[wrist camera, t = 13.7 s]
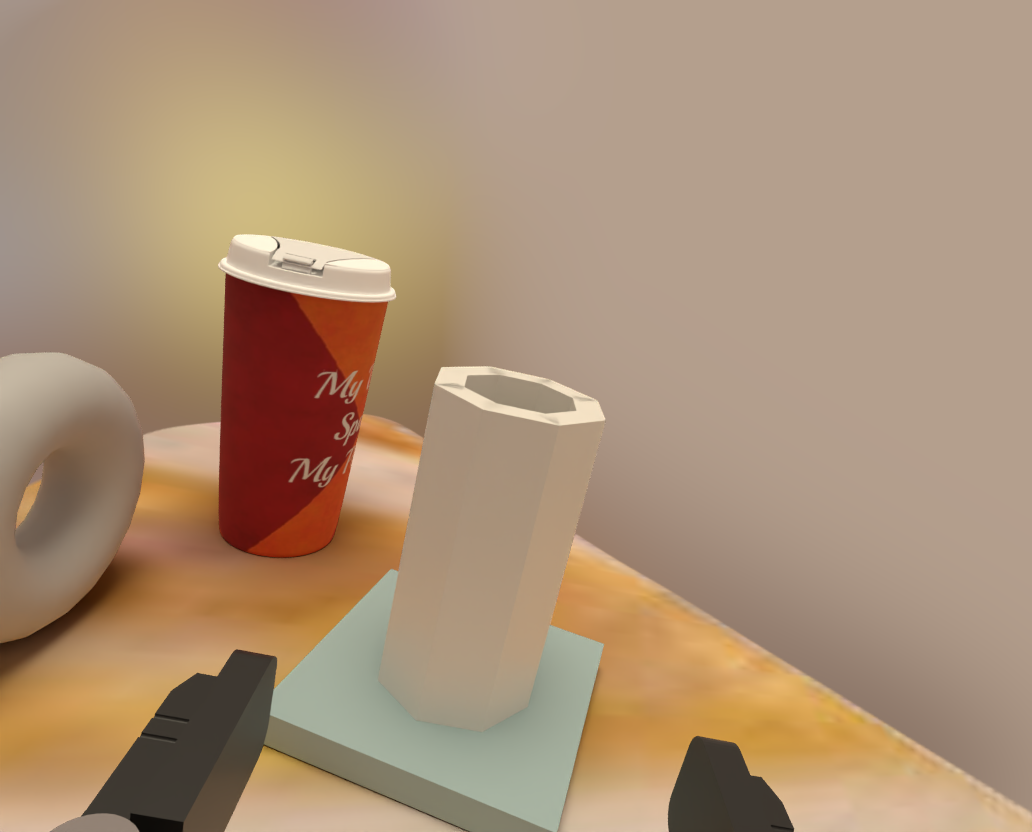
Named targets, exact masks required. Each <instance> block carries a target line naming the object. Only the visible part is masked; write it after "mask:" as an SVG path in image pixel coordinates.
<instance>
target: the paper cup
mask: <svg viewBox="0 0 1032 832" xmlns="http://www.w3.org/2000/svg"><path fill="white" fill-rule="evenodd" d="M218 267H219V269H221V270H222V271H223V272H225V273H226V279H225V310H224V311H225V312H224V341H223V369H222V400H221V430H220V465H219V529H220V533H221V535H222V537H223V538H224V539H225V540H226V541H227V542H228V543H229V544H231V545H232V546H234V547H236V548H238V549H240V550H242V551H245V552H248V553H251V554H255V555H260V556H267V557H296V556H302V555H306V554H310V553H313V552H316V551H318V550H320V549H322V548H324V547H325V546H326V545H328V544H329V543H330V542H331V540H332V538H333V536H334V533H335V530H336V526H337V523H338V519H339V515H340V511H341V507H342V503H343V499H344V494H345V490H346V486H347V481H348V477H349V473H350V469H351V464H352V460H353V455H354V451H355V447H356V442H357V438H358V433H359V429H360V425H361V420H362V416H363V411H364V407H365V402H366V398H367V393H368V389H369V384H370V380H371V375H372V371H373V366H374V362H375V358H376V353H377V349H378V344H379V340H380V335H381V331H382V326H383V322H384V317H385V313H386V309H387V304H388V301H391V300H394V299H395V298H396V294H395V290H394V289H392V288H391V285H390V284H391V269H390V268H389V265H388V264H386V263H384V262H382V261H380V260H377V259H375V258H372V257H369V256H365V255H362V254H359V253H355V252H352V251H348V250H343V249H340V248H335V247H331V246H326V245H321V244H316V243H311V242H306V241H300V240H294V239H287V238H280V237H273V236H271V237H270V236H263V235H237V236H235V237H234V238H233V239H232V241H231V244H230V248H229V252H228V256H227V257H225V258H223V259H222V260H221V261H220V263H219V264H218Z"/></svg>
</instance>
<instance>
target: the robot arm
mask: <svg viewBox="0 0 1032 832" xmlns="http://www.w3.org/2000/svg"><path fill="white" fill-rule="evenodd" d="M276 668H277V658H276V657H275V656H270V655H264V654H259V653H253V652H248V651H243V650H235V651H234V652H233V653H232V654H231V656H230V658H229V659H228V661H227V662H226V664H225V665H224V667H223V668H222V670H221V672H220V673H219V675H218V676H217V677H216V676H211V675H206V674H200V673H197V674H195V675H194V676H192V677H191V678H189V679H188V680H186V681H185V682H183V683H182V684H180V685H179V686H178V687H176V688H175V689H173V690H172V691H171V692H170V693H169V695H168V696H167V698H166V699H165V700H164V702H163V703H162V705H161V706H160V707H159V709H158V710H157V712H156V713H155V716H154V718H152V719H151V720H150V722H149V723H148V724H147V726H146V727H145V729H144V730H143V731H142V734H141V736H140V738H139V737H138V738H137V740H136V741H135V743H134V744H133V745H132V747H131V748H130V750H129V751H128V752H127V754H126V755H125V757H124V758H123V759H122V761H121V762H120V764H119V765H118V766H117V768H116V769H115V771H114V772H113V773H112V775H111V776H110V778H109V779H108V780H107V782H106V783H105V785H104V786H103V787H102V789H101V790H100V792H99V793H98V794H97V796H96V797H95V799H94V800H93V801H92V803H91V804H90V806H89V807H88V808H87V810H86V811H85V812H84V813H83V815H82V816H81V817H78V818H75V819H73V820H70V821H67V822H66V823H64V824H62V825H60V826H58V827H56V828H55V829H53V830H52V831H50V832H224V831H225V829H226V827H227V824H228V822H229V820H230V818H231V816H232V814H233V812H234V810H235V807H236V805H237V803H238V801H239V799H240V797H241V795H242V792H243V790H244V788H245V786H246V784H247V782H248V780H249V778H250V775H251V773H252V771H253V769H254V767H255V765H256V763H257V760H258V758H259V756H260V753H261V750H262V747H263V744H264V741H265V737H266V734H267V730H268V725H269V718H270V711H271V704H272V697H273V689H274V682H275V675H276ZM668 828H669V832H794V828H793V825H792V823H791V821H790V819H789V816H788V814H787V812H786V810H785V807H784V805H783V803H782V801H781V800H780V799H779V798H778V797H777V795H776V794H775V793H774V792H773V791H772V789H771V788H770V787H769V786H768V785H767V783H766V782H765V781H764V780H763V779H762V777H757V776H751V775H750V773H749V771H748V768H747V766H746V764H745V761H744V759H743V756H742V754H741V751H740V749H739V747H738V746H737V745H736V744H735V743H732V742H727V741H721V740H716V739H710V738H705V737H700V736H696V737H694V738H693V739H692V741H691V743H690V745H689V748H688V751H687V754H686V756H685V759H684V762H683V764H682V767H681V770H680V773H679V775H678V778H677V781H676V784H675V786H674V789H673V792H672V795H671V798H670V802H669V810H668Z"/></svg>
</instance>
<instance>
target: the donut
mask: <svg viewBox="0 0 1032 832" xmlns="http://www.w3.org/2000/svg"><path fill="white" fill-rule="evenodd" d="M42 463H44V465H43V473H42V481H41V485H40V488H39V491H38V494H37V497H36V500H35V502H34V504H33V506H32V507H31V509H30V511H29V513H28V514H27V516H26V518H25V519H24V521H23V522H22V523H21V524H20V525H19V527H18V528H17V529H16V530H15V528H16V519H17V512H18V509H19V506H20V503H21V500H22V497H23V494H24V492H25V489H26V487H27V485H28V484H29V482H30V480H31V478H32V477H33V475H34V473H35V472H36V470H37V468H38V467H39V466H40V465H41V464H42ZM143 468H144V445H143V432H142V428H141V426H140V423H139V420H138V417H137V414H136V411H135V408H134V406H133V404H132V402H131V399H130V397H129V396H128V395H127V394H126V393H125V392H124V390H123V389H122V388H121V387H120V386H119V384H118V383H117V382H116V381H115V380H114V378H113V377H111V376H110V375H109V374H108V373H107V372H106V371H105V370H103V369H101V368H99V367H96V366H94V365H91V364H89V363H87V362H84V361H82V360H80V359H77V358H74V357H72V356H70V355H67V354H65V353H52V352H47V353H46V352H45V353H25V354H13V355H9V356H5V357H2V358H0V643H4V642H9V641H13V640H17V639H21V638H25V637H28V636H29V635H31V634H33V633H34V632H36V631H38V630H40V629H41V628H43V627H45V626H46V625H48V624H50V623H51V622H53V621H55V620H56V619H58V618H60V617H61V616H63V615H64V614H66V613H67V612H68V611H69V610H70V609H71V608H72V607H74V606H75V605H76V604H77V603H78V602H79V601H80V600H81V599H82V598H83V597H84V596H85V595H86V594H87V593H88V592H89V591H90V590H91V589H92V588H93V587H94V585H95V584H96V583H97V581H98V580H99V578H100V577H101V575H102V574H103V573H104V571H105V570H106V568H107V567H108V566H109V564H110V563H111V561H112V560H113V559H114V557H115V555H116V553H117V551H118V549H119V547H120V545H121V543H122V541H123V539H124V537H125V534H126V532H127V530H128V528H129V526H130V523H131V520H132V517H133V514H134V511H135V508H136V504H137V501H138V498H139V495H140V490H141V483H142V476H143Z"/></svg>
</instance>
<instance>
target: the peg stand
mask: <svg viewBox="0 0 1032 832" xmlns="http://www.w3.org/2000/svg"><path fill="white" fill-rule="evenodd" d="M397 577H398V571H396V570H393V569H390V571H389V572H388V573H387V574H386V575H385V576H384V577H383V578H382V579H381V580H380V581H379V582H378V583H377V584H376V585H375V586H374V587H373V588H372V589H371V590H370V591H369V592H368V593H367V594H366V595H365V596H364V597H363V598H362V599H361V600H360V601H359V602H358V603H357V604H356V606H355V607H354V608H353V609H352V610H351V611H350V612H349V613H348V614H347V615H346V616H345V617H344V618H343V619H342V620H341V621H340V622H339V623H338V624H337V625H336V626H335V627H334V628H333V629H332V630H331V631H330V632H329V633H328V634H327V635H326V636H325V637H324V638H323V639H322V640H321V642H320V643H319V644H318V645H317V646H316V647H315V648H314V649H313V650H312V651H311V652H310V653H309V654H308V655H307V656H306V657H305V658H304V659H303V660H302V661H301V662H300V663H299V664H298V665H297V666H296V667H295V668H294V669H293V670H292V671H291V672H290V673H289V674H288V675H287V676H286V678H285V679H284V680H283V681H282V682H281V683H280V684H279V685H278V686H277V687H276V688H275V689H274V690H273V697H272V704H271V711H270V718H269V725H268V730H267V734H266V737H265V741H264V745H267V746H269V747H271V748H274V749H276V750H278V751H281V752H283V753H285V754H288V755H290V756H293V757H295V758H297V759H300V760H302V761H304V762H307V763H309V764H311V765H314V766H316V767H319V768H321V769H323V770H326V771H328V772H330V773H333V774H335V775H337V776H340V777H342V778H344V779H347V780H349V781H352V782H354V783H356V784H359V785H361V786H363V787H366V788H368V789H370V790H373V791H375V792H378V793H380V794H382V795H385V796H387V797H389V798H392V799H394V800H396V801H399V802H401V803H404V804H406V805H408V806H411V807H413V808H415V809H418V810H420V811H422V812H425V813H427V814H430V815H432V816H434V817H437V818H439V819H441V820H444V821H446V822H448V823H451V824H453V825H456V826H458V827H460V828H463V829H465V830H467V831H470V832H557V831H558V827H559V823H560V819H561V815H562V811H563V807H564V803H565V799H566V795H567V791H568V787H569V783H570V779H571V775H572V771H573V767H574V763H575V759H576V755H577V750H578V746H579V742H580V738H581V734H582V730H583V726H584V722H585V718H586V714H587V710H588V706H589V702H590V698H591V694H592V690H593V686H594V682H595V678H596V674H597V670H598V666H599V662H600V658H601V654H602V650H603V646H604V644H603V643H600V642H597V641H594V640H591V639H588V638H585V637H583V636H580V635H577V634H574V633H571V632H568V631H566V630H563V629H560V628H557V627H554V626H551V625H550V626H549V630H548V634H547V637H546V641H545V645H544V648H543V652H542V656H541V659H540V663H539V667H538V670H537V674H536V678H535V681H534V685H533V689H532V692H531V696H530V700H529V703H528V707H527V708H525V709H523V710H521V711H519V712H518V713H516V714H514V715H512V716H510V717H509V718H507V719H505V720H503V721H501V722H499V723H498V724H496V725H494V726H492V727H490V728H489V729H487V730H485V731H483V732H478V731H473V730H467V729H461V728H456V727H450V726H445V725H439V724H433V723H428V722H422V721H416V720H415V719H414V718H413V717H412V716H411V715H410V714H409V713H408V712H407V710H406V709H405V708H404V707H403V706H402V705H401V704H400V703H399V702H398V701H397V700H396V699H395V698H394V697H393V696H392V695H391V694H390V692H389V691H388V690H387V689H386V688H385V687H384V686H383V685H382V684H381V683H380V682H379V681H378V675H379V670H380V665H381V660H382V655H383V649H384V644H385V639H386V634H387V629H388V623H389V618H390V613H391V608H392V603H393V597H394V592H395V587H396V582H397Z"/></svg>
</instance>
